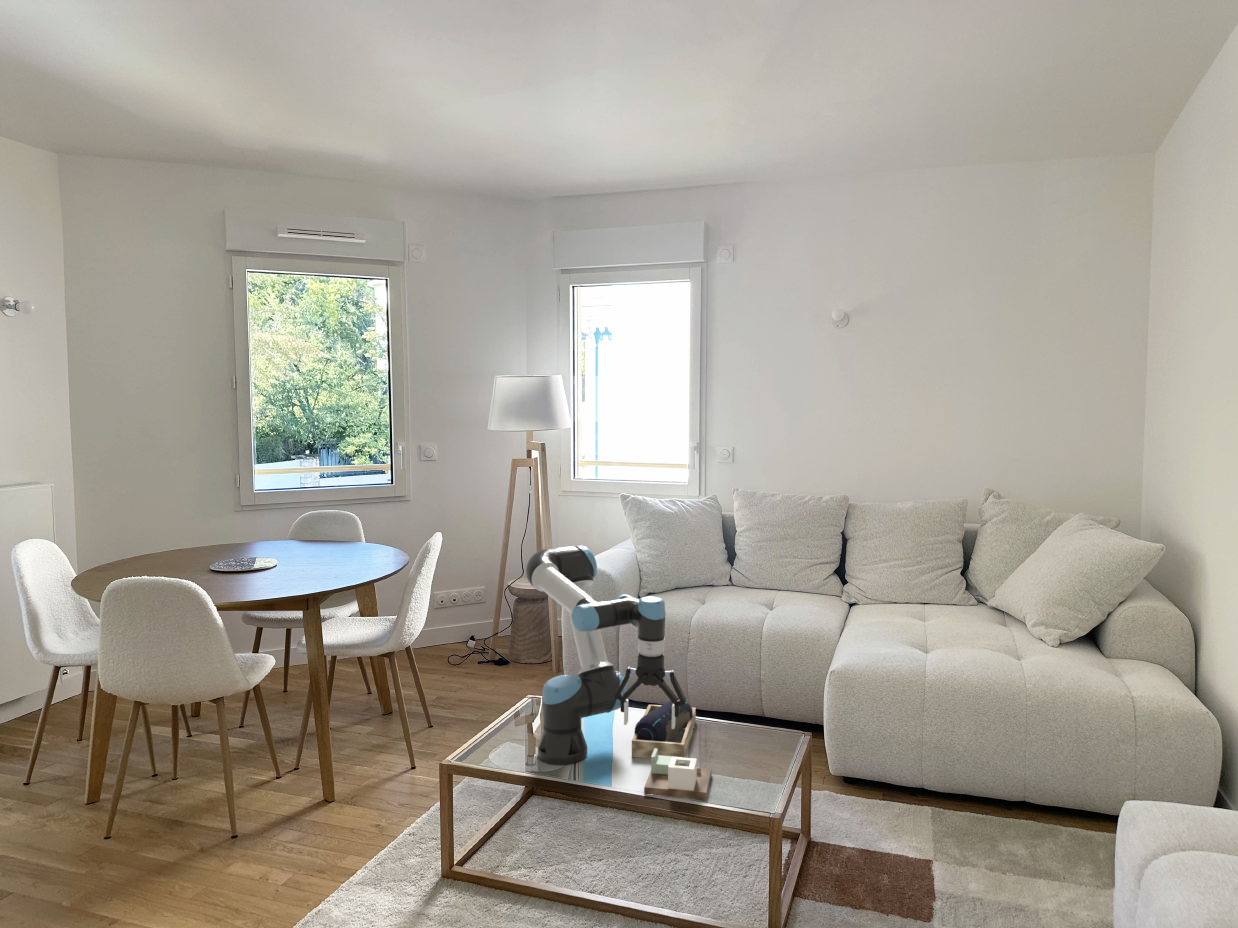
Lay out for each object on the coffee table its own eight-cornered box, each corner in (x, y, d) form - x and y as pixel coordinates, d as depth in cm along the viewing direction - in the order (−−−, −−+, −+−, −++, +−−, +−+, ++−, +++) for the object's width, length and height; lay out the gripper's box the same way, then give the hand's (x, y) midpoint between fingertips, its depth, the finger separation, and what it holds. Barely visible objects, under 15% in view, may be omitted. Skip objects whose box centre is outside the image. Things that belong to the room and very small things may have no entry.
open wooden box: (631, 756, 255) (631, 740, 255) (648, 718, 286) (648, 704, 285) (684, 760, 252) (684, 744, 252) (695, 721, 282) (695, 707, 282)
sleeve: (672, 777, 237) (671, 756, 236) (696, 779, 235) (696, 758, 235) (668, 788, 230) (668, 766, 229) (693, 790, 228) (693, 769, 228)
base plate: (644, 794, 231) (644, 765, 230) (653, 770, 245) (653, 743, 245) (706, 799, 227) (706, 770, 227) (711, 775, 242) (711, 748, 241)
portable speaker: (658, 754, 256) (658, 722, 255) (631, 747, 261) (630, 716, 260) (697, 727, 276) (697, 697, 276) (671, 721, 282) (671, 692, 281)
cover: (651, 773, 239) (651, 756, 238) (654, 764, 245) (654, 748, 244) (679, 775, 237) (679, 758, 237) (681, 766, 243) (681, 750, 243)
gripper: (604, 653, 235) (603, 726, 237) (693, 660, 231) (692, 734, 233) (610, 645, 242) (609, 715, 245) (696, 651, 238) (694, 723, 240)
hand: (649, 724), depth 239 cm, fingers open, 13 cm apart
